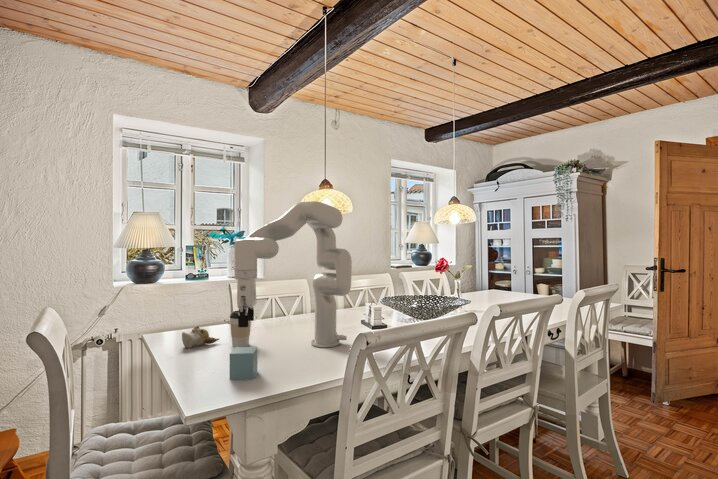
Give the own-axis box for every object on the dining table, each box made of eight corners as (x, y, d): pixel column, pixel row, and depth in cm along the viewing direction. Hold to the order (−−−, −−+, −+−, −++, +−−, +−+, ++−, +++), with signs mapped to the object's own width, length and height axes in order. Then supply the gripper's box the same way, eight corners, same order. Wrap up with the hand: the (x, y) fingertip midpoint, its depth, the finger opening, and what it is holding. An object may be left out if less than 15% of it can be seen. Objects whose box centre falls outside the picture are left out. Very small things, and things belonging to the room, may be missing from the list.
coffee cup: (245, 348, 168) (245, 313, 168) (225, 347, 170) (225, 312, 170) (254, 342, 177) (254, 309, 177) (236, 341, 179) (236, 308, 179)
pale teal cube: (257, 371, 141) (257, 346, 141) (253, 379, 133) (253, 353, 133) (235, 371, 140) (235, 347, 140) (229, 379, 132) (229, 353, 132)
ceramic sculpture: (175, 326, 170) (206, 322, 182) (174, 347, 170) (205, 341, 182) (189, 330, 164) (221, 326, 176) (188, 351, 164) (219, 345, 176)
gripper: (252, 277, 129) (252, 329, 130) (261, 271, 147) (261, 318, 147) (228, 277, 129) (229, 330, 129) (240, 272, 146) (240, 318, 146)
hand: (246, 323), depth 138 cm, fingers open, 9 cm apart
